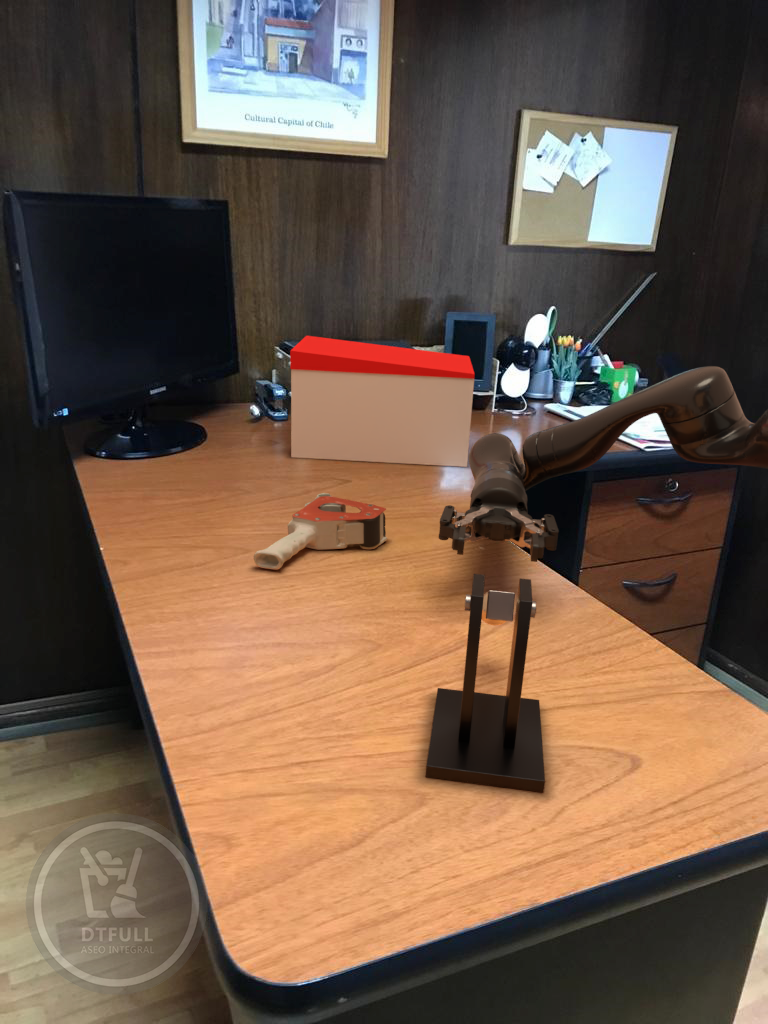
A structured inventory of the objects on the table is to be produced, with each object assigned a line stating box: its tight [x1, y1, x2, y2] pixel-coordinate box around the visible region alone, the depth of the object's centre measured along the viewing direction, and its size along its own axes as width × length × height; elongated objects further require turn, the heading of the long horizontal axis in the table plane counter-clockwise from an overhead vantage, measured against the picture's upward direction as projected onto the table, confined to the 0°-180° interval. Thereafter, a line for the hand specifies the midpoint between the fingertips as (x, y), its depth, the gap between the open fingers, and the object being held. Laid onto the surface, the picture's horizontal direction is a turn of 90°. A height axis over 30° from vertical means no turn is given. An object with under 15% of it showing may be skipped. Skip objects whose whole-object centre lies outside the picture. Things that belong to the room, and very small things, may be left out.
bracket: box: [425, 573, 546, 793], centre depth 68 cm, size 12×10×16 cm
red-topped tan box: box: [289, 335, 476, 468], centre depth 158 cm, size 21×35×21 cm, turn 87°
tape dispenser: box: [253, 492, 388, 570], centre depth 112 cm, size 18×5×20 cm
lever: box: [481, 589, 516, 627], centre depth 73 cm, size 17×4×4 cm, turn 171°
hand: (497, 550), depth 89 cm, fingers open, 8 cm apart
